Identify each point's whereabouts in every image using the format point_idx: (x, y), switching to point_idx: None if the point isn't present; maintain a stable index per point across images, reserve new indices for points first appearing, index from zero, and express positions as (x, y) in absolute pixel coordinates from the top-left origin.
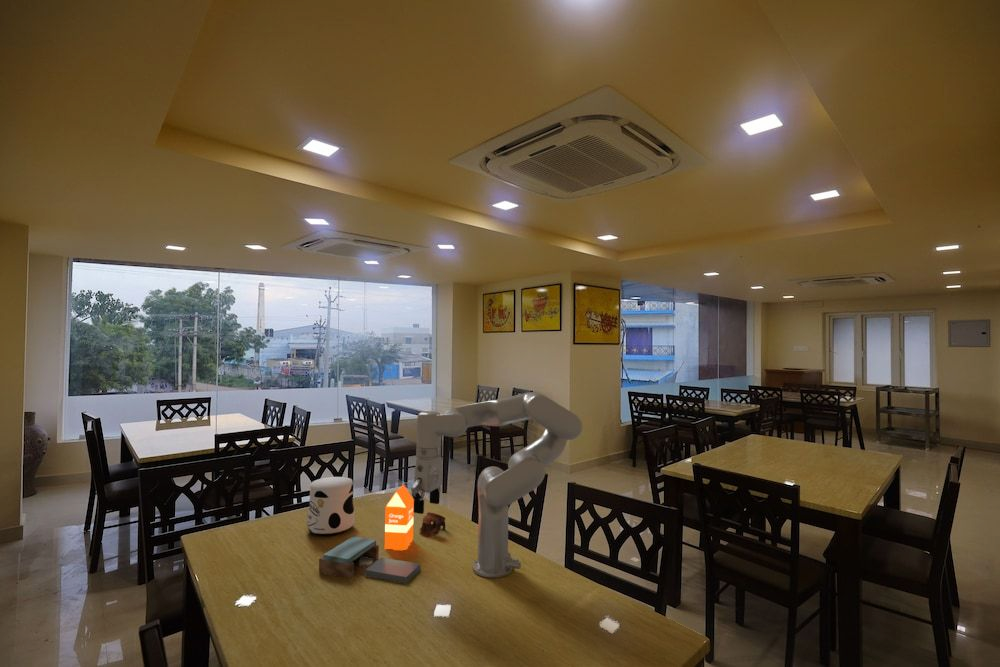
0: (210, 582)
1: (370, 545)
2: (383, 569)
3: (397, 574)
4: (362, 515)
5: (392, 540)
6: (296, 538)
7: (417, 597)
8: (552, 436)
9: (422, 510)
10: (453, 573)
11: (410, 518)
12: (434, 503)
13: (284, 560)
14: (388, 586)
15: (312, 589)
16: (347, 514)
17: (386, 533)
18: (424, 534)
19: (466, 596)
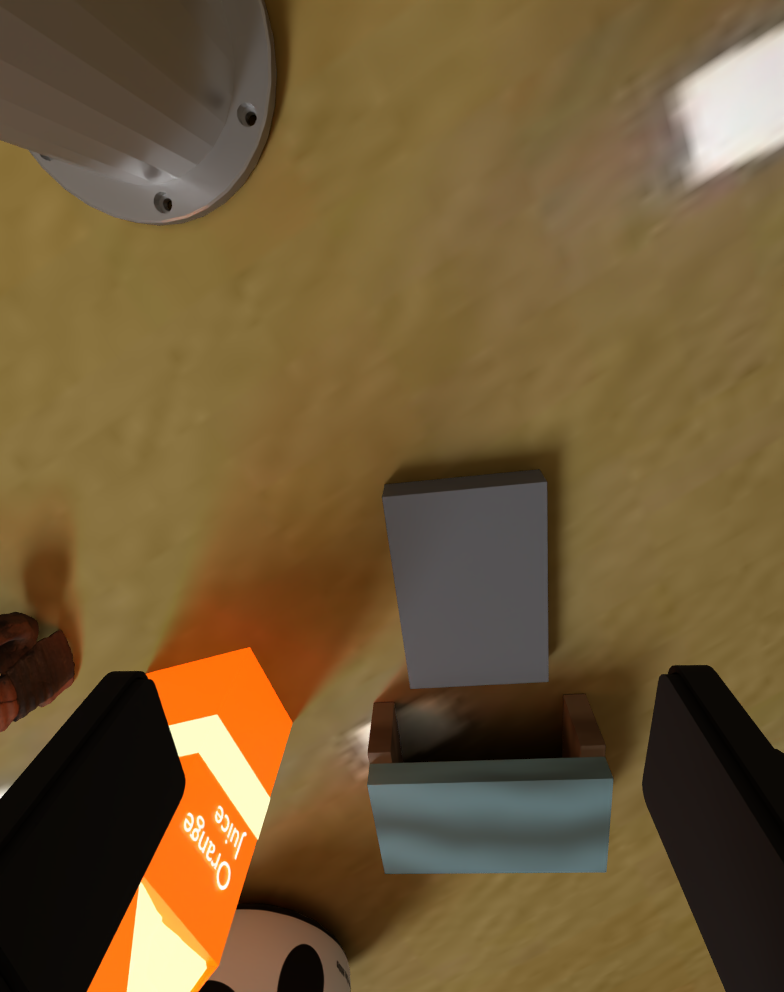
0: None
1: (419, 776)
2: (514, 619)
3: (536, 536)
4: None
5: (264, 732)
6: (385, 974)
7: (653, 334)
8: None
9: (740, 711)
10: (330, 296)
11: None
12: (166, 721)
13: (540, 923)
14: (593, 527)
15: None
16: (237, 989)
17: (268, 785)
18: (70, 660)
19: (553, 36)
